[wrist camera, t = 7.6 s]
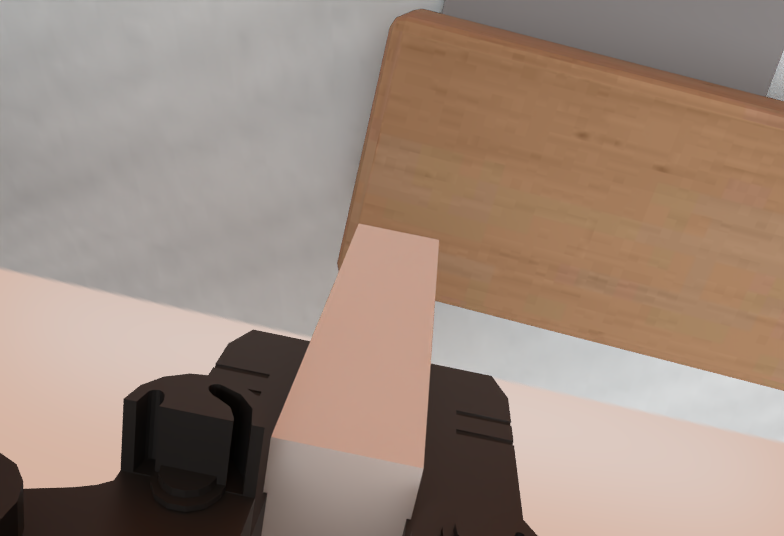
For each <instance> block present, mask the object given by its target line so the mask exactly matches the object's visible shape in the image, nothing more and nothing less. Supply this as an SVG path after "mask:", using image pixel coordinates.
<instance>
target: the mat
mask: <svg viewBox="0 0 784 536" xmlns="http://www.w3.org/2000/svg"><path fill="white" fill-rule="evenodd" d="M442 14H445V15H449V16H452V17H456V18H460V19H464V20H468V21H472V22H476V23H480V24H484V25H488V26H491V27H495V28H499V29H503V30H507V31H511V32H515V33H519V34H523V35H526V36H530V37H534V38H538V39H542V40H546V41H550V42H554V43H558V44H562V45H565V46H569V47H573V48H577V49H581V50H585V51H589V52H593V53H597V54H600V55H604V56H608V57H612V58H616V59H620V60H624V61H628V62H632V63H636V64H639V65H643V66H647V67H651V68H655V69H659V70H663V71H667V72H671V73H675V74H678V75H682V76H686V77H690V78H694V79H698V80H702V81H706V82H710V83H713V84H717V85H721V86H725V87H729V88H733V89H737V90H741V91H745V92H749V93H752V94H756V95H760V96H764V97H766V94H767V92H768V89H769V87H770V84H771V81H772V79H773V76H774V74H775V71H776V68H777V66H778V63H779V61H780V58H781V55H782V53H783V50H784V0H445V1H444V6H443V11H442Z"/></svg>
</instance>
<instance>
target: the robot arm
mask: <svg viewBox="0 0 784 536" xmlns="http://www.w3.org/2000/svg"><path fill="white" fill-rule="evenodd" d="M438 249H439V240H437V239H432V238H427V237H422V236H418V235H413V234H408V233H403V232H398V231H393V230H388V229H383V228H378V227H373V226H368V225H364V224H358V227H357V229H356V231H355V234H354V236H353V239H352V241H351V244H350V246H349V249H348V251H347V253H346V256H345V258H344V261H343V263H342V266H341V268H340V270H339V273H338V275H337V278H336V280H335V283H334V285H333V287H332V290H331V292H330V295H329V297H328V300H327V302H326V304H325V307H324V309H323V312H322V314H321V317H320V319H319V322H318V324H317V326H316V329H315V331H314V334H313V336H312V339H311V341H305V340H301V339H296V338H291V337H286V336H281V335H277V334H272V333H266V332H262V331H257V330H252V331H250V332H248V333H246V334H245V335H243V336H241V337H239V338H238V339H236V340H234V341H232V342H231V343H229V344H228V346H227V347H226V348H225V350H224V352H223V353H222V355H221V356H220V358H219V360H218V361H217V363H216V366H215V368H214V367H213V369H212V370H211V372H210V373H209V375H199V374H183V375H175V376H166V377H162V378H159V379H157V380H154V381H151V382H149V383H146V384H143V385H140V386H139V387H138V388H137V389H135V390H134V391H133V392H132V393H130V394H129V395H128V396H127V397H126V398H124V405H123V430H122V453H121V471H120V472H119V474H118V475H117V477H116V478H115V480H114V481H110V482H106V483H102V484H99V485H91V486H82V487H69V488H39V489H38V488H37V489H23V480H22V477H21V475H20V472H19V470H18V467H17V464H15V463H14V462H12V461H11V460H10V459H8V458H7V457H5V456H4V455H2V454H1V453H0V536H537V535H536V534H535V532H534V531H533V530H532V529H531V528H530V527H529V526H528V525H527V523H525V521H524V520H523V515H522V507H521V499H520V491H519V483H518V475H517V467H516V459H515V451H514V446H513V435H512V427H511V426H510V423H511V419H510V411H509V403H508V398H507V396H506V395H505V394H504V393H503V391H502V390H501V388H500V387H499V386H498V385H497V383H496V382H495V380H494V379H493V377H492V376H489V375H484V374H479V373H474V372H469V371H464V370H459V369H454V368H450V367H445V366H440V365H435V364H431V352H432V337H433V322H434V308H435V293H436V279H437V264H438Z"/></svg>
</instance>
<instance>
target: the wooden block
mask: <svg viewBox="0 0 784 536" xmlns="http://www.w3.org/2000/svg"><path fill="white" fill-rule="evenodd" d="M358 224H364V225H368V226H373V227H378V228H383V229H388V230H393V231H398V232H403V233H408V234H413V235H418V236H422V237H427V238H432V239H437V240H439V249H438V264H437V279H436V293H435V301H438V302H442V303H446V304H450V305H454V306H458V307H462V308H465V309H469V310H473V311H477V312H481V313H485V314H489V315H493V316H496V317H500V318H504V319H508V320H512V321H516V322H520V323H524V324H527V325H531V326H535V327H539V328H543V329H547V330H551V331H555V332H558V333H562V334H566V335H570V336H574V337H578V338H582V339H585V340H589V341H593V342H597V343H601V344H605V345H609V346H613V347H616V348H620V349H624V350H628V351H632V352H636V353H640V354H644V355H647V356H651V357H655V358H659V359H663V360H667V361H671V362H675V363H678V364H682V365H686V366H690V367H694V368H698V369H702V370H706V371H709V372H713V373H717V374H721V375H725V376H729V377H733V378H737V379H740V380H744V381H748V382H752V383H756V384H760V385H764V386H767V387H771V388H775V389H779V390H783V391H784V101H780V100H776V99H772V98H768V97H764V96H760V95H756V94H752V93H749V92H745V91H741V90H737V89H733V88H729V87H725V86H721V85H717V84H713V83H710V82H706V81H702V80H698V79H694V78H690V77H686V76H682V75H678V74H675V73H671V72H667V71H663V70H659V69H655V68H651V67H647V66H643V65H639V64H636V63H632V62H628V61H624V60H620V59H616V58H612V57H608V56H604V55H600V54H597V53H593V52H589V51H585V50H581V49H577V48H573V47H569V46H565V45H562V44H558V43H554V42H550V41H546V40H542V39H538V38H534V37H530V36H526V35H523V34H519V33H515V32H511V31H507V30H503V29H499V28H495V27H491V26H488V25H484V24H480V23H476V22H472V21H468V20H464V19H460V18H456V17H452V16H449V15H445V14H441V13H437V12H433V11H429V10H425V9H419V10H414V11H411V12H409V13H407V14H404V15H402V16H399V17H397V18H396V19H395V20H394V22H393V23H392V25H391V26H390V29H389V33H388V38H387V42H386V47H385V51H384V56H383V60H382V65H381V69H380V74H379V78H378V83H377V87H376V92H375V96H374V101H373V105H372V109H371V114H370V118H369V123H368V127H367V132H366V136H365V141H364V145H363V150H362V154H361V159H360V163H359V168H358V172H357V177H356V181H355V186H354V190H353V195H352V199H351V204H350V208H349V213H348V217H347V222H346V226H345V231H344V235H343V240H342V244H341V249H340V253H339V258H338V262H337V264H338V269H339V270H340V268H341V266H342V263H343V261H344V258H345V256H346V253H347V251H348V249H349V246H350V244H351V241H352V239H353V236H354V234H355V231H356V229H357V227H358Z"/></svg>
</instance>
